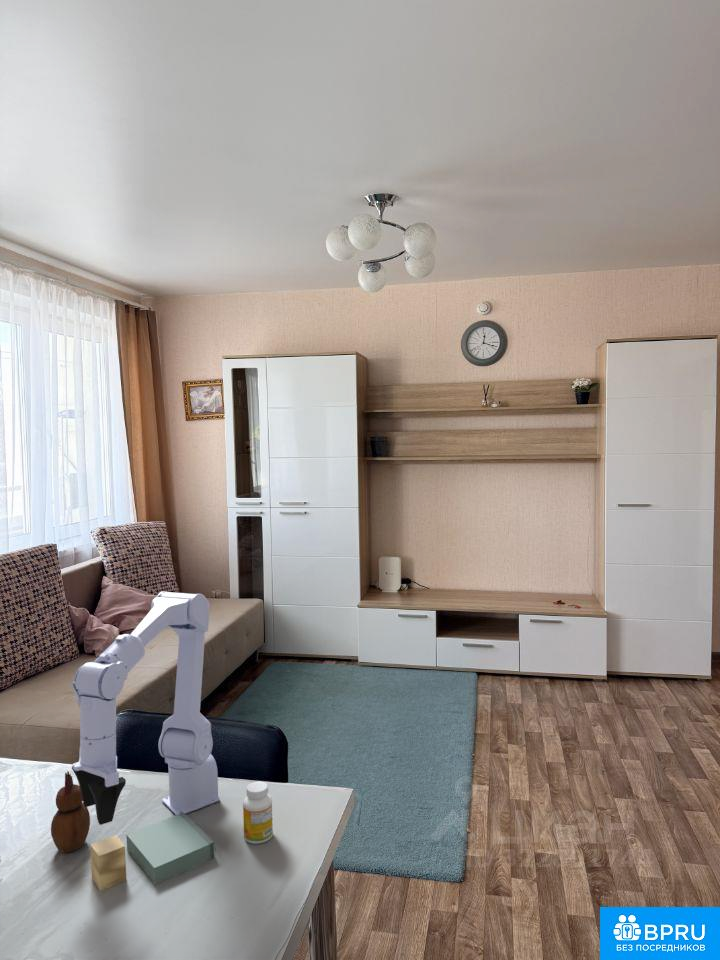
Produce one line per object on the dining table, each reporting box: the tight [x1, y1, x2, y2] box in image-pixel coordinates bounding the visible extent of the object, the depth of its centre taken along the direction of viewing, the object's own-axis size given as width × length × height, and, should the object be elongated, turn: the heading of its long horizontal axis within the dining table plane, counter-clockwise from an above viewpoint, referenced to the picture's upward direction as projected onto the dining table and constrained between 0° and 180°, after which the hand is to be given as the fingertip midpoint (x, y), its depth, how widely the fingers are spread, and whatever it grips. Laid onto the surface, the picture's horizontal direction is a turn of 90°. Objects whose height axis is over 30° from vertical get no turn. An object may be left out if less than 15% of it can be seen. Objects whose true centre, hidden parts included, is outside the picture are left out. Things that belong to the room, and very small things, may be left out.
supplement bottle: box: [242, 781, 274, 845], centre depth 128 cm, size 5×5×10 cm
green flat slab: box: [125, 812, 215, 884], centre depth 124 cm, size 11×13×3 cm
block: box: [89, 834, 127, 891], centre depth 117 cm, size 4×4×6 cm
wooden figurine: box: [50, 770, 91, 853], centre depth 126 cm, size 7×6×15 cm
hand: (98, 813), depth 116 cm, fingers open, 7 cm apart
